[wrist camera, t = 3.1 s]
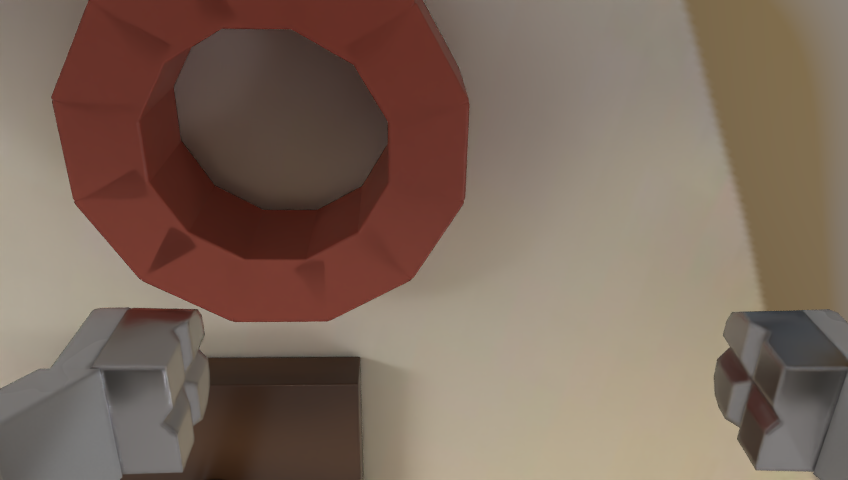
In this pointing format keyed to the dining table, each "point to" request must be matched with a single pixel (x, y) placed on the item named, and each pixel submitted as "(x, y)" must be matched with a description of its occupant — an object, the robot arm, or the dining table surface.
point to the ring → (232, 216)
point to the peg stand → (277, 422)
